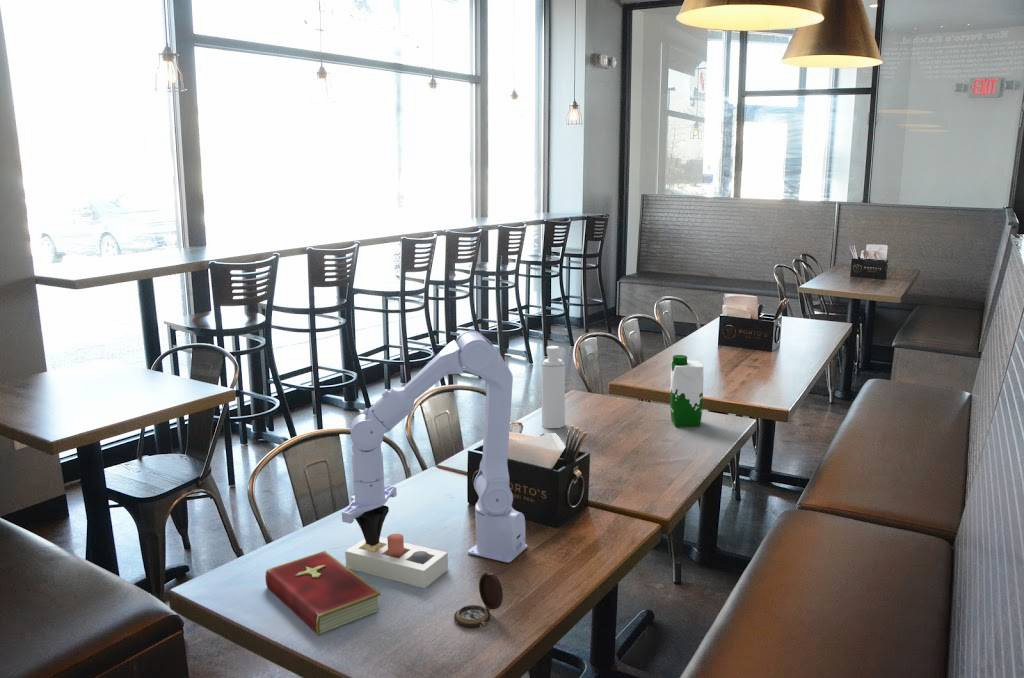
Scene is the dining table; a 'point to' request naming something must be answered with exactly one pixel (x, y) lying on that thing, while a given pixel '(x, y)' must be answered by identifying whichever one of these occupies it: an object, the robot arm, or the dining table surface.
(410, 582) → the socket board
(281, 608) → the dining table surface
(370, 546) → the brass plug
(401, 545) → the red plug
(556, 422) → the white bottle
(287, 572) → the hardcover book
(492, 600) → the compass
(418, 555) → the gray plug
